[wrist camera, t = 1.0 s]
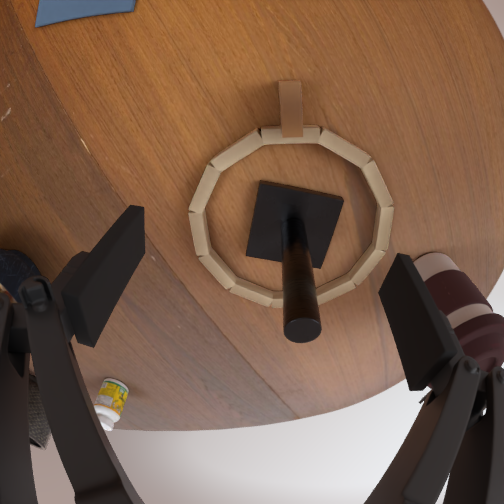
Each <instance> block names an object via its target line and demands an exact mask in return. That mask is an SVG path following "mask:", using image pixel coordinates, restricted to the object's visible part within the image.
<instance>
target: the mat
mask: <svg viewBox="0 0 504 504" xmlns="http://www.w3.org/2000/svg"><path fill="white" fill-rule="evenodd" d="M135 1H136V0H40V2H39V7H38V12H37V18H36V24H35V27H41V26H45V25H49V24H54V23H58V22H63V21H68V20H73V19H78V18H84V17H90V16H97V15H105V14H113V13H123V12H133V11H134V6H135Z"/></svg>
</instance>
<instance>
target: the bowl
mask: <svg viewBox="0 0 504 504" xmlns="http://www.w3.org/2000/svg"><path fill="white" fill-rule="evenodd" d="M37 275H40V276H41V274H40V272H39V270H38V269H37V267H36V265H35V264H34V263H33V262H32V261H31V259H30V258H28V257H27V256H26V255H25V254H23V253H22V252H20V251H17V250H8V251H6V250H4V249H0V293H5V294H7V295H8V297H9V298H10V301H11V303H22V301H21V298H20V296H19V293H18V289H19V286H20V285H21V283H22V282H23V281H24V280H26V279H27V278H29V277H32V276H37Z"/></svg>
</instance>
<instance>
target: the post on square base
mask: <svg viewBox="0 0 504 504" xmlns="http://www.w3.org/2000/svg"><path fill="white" fill-rule="evenodd" d="M343 202H344V200H343V198H342V197H340V196H336V195H331V194H327V193H322V192H318V191H313V190H308V189H304V188H299V187H294V186H289V185H284V184H279V183H274V182H268V181H263V180H260V183H259V188H258V193H257V198H256V204H255V209H254V214H253V219H252V224H251V229H250V235H249V240H248V245H247V250H246V256H249V257H255V258H261V259H267V260H272V261H278V262H282V282H283V327H284V335H285V337H286V338H287V339H288V340H290V341H292V342H295V343H307V342H310V341H313V340H314V339H316V338H317V337H318V336H319V335H320V333H321V330H322V329H321V321H320V314H319V307H318V300H317V293H316V287H315V281H314V274H313V268H319V269H321V267H322V264H323V261H324V258H325V255H326V253H327V250H328V247H329V244H330V241H331V238H332V235H333V233H334V230H335V227H336V224H337V221H338V218H339V215H340V212H341V209H342V205H343ZM312 267H313V268H312Z"/></svg>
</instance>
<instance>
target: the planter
mask: <svg viewBox="0 0 504 504" xmlns="http://www.w3.org/2000/svg"><path fill="white" fill-rule="evenodd" d="M28 419H29V439H30V445H32V446H34V447H37V448H39V449H42V450H45V449H46V447H47V445H48V442H49V439H50V436H51V430H50V427H49V424H48V421H47V417H46V414H45V411H44V407H43V403H42V400H41V396H40V392H39V388H38V384H37V380H36V377H34V376H32V375H30V374H29V382H28Z"/></svg>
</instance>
